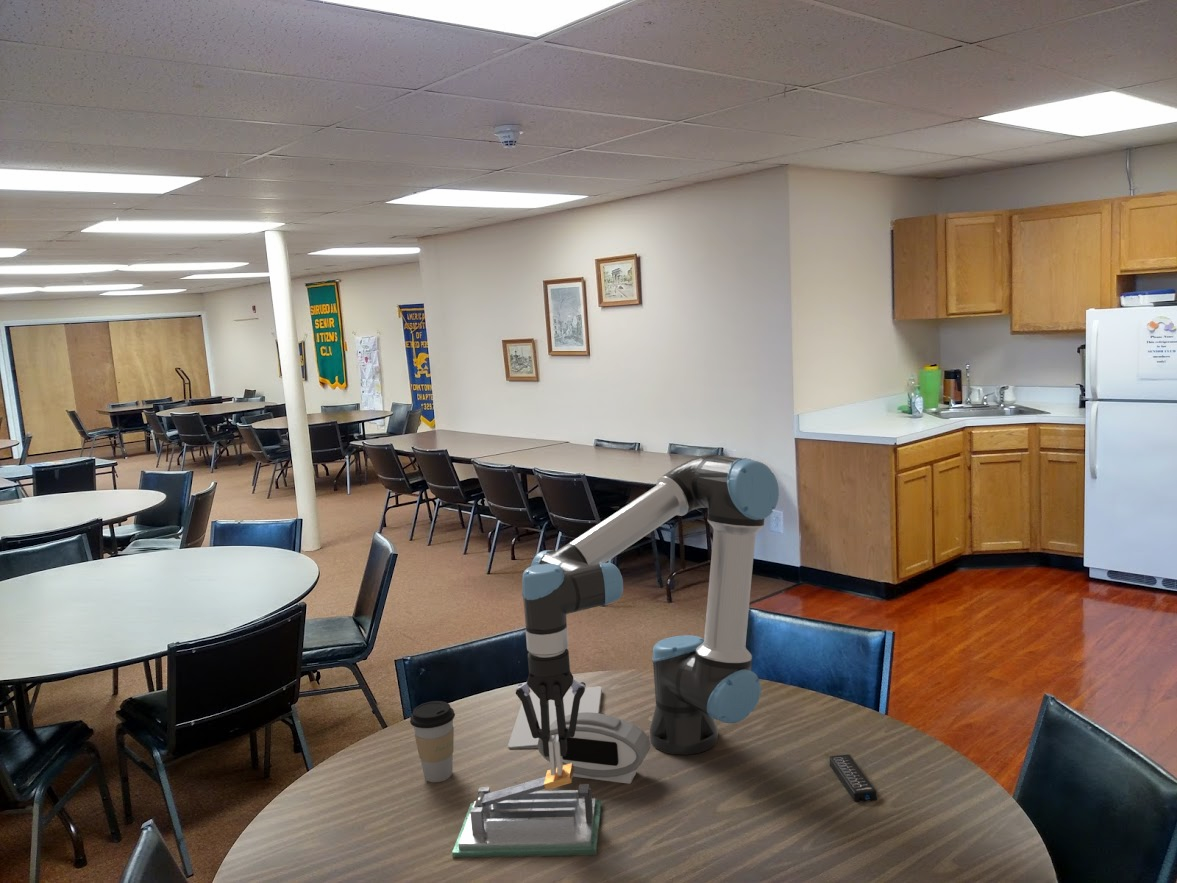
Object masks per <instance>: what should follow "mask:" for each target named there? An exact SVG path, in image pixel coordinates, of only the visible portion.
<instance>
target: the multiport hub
mask: <svg viewBox="0 0 1177 883" xmlns="http://www.w3.org/2000/svg"><path fill="white" fill-rule="evenodd" d="M829 766H830V769H832V771H833V773H834V774H835V776H836V777H837V778H838V780H839V781H840V783H841V785H842V786H843V787H844V788H845V790H846V792H847V793H848V794H849V796H850V798H851V800H852V801H853V802H854V803H865V802H866V803H867V802H874V801H875V802H877V800H878V792H877V789H876V788H875V786H874V785H873V783H872V782H871V780H870V779H869V778H868V777H867V775H866V773H864V771H863V770H862V769H861V768H860V765H858V763H857V762H856V760H855V759H854V758H853V757H852V755H851V754H847V753H846V754H837V755H830V756H829Z"/></svg>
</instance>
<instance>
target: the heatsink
mask: <svg viewBox="0 0 1177 883" xmlns="http://www.w3.org/2000/svg"><path fill="white" fill-rule="evenodd" d="M490 788H491V787H490V786H481V787H479V788H478V790H477V793H478V794H477V796H478V795H479V793H481V792H483V793H485V794H488V793H491V789H490ZM592 796H593V795H592V788H591V787H590V784H589V783H584V784H583V783H581V784H579V785H578V789H576V790H575V789H569V790H568V789H566V790H539V791H536V792H532V793H529V794H526V795H522V796H519V797H515V798H512V799H508V800H505V801H502V802H498V803H495V804H491V805H488V806H485V807H474V806H475V803H476V800H475V801H473V802H471V803H470V804H469V808H468V810H467V813H466V814H465V818H464V821H463V823H462V826H461V829H460V832H459V834H458V836H457V839H456V842H455V844H454V846H453V849H452V852H451V853H452V858H495V857H496V858H498V857H501V858H502V857H504V858H506V857H509V858H511V857H547V856H548V857H549V856H551V857H555V856H564V857H565V856H596V855H597V849H598V840H599V830H600V823H601V814H602V813H601V812H602V800H601V799H596V798H595V797H592Z"/></svg>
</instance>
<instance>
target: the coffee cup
mask: <svg viewBox="0 0 1177 883" xmlns="http://www.w3.org/2000/svg"><path fill="white" fill-rule="evenodd" d="M455 716H456V713H455V710H454V709H453V708H452V707H451V705H450V704H449V703H448V702H446V701H443V700H442V701H441V700H434V701H433V700H432V701H427V702H425V703H421V704H420V705H419V704H418V705H417V706H416V707H415V708H414V709H413V711H412V714H411V715H410V719H409V723H410V724H411V726H412V727H413V729H414V738H415V743H416V748H417V751H418V757H419V759H420V762H421V766H422V772H423V777H424V779H425V780H426V781H427V782H430V783H441V782H444V781H446V780H448V779H449V778H450V777H451V776H452V775H453V764H454V763H453V759H454V754H453V753H454V742H455V741H454V739H455V738H454V735H455V733H454V732H455V731H454V730H455V729H454V724H453V723H454V719H455Z"/></svg>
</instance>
